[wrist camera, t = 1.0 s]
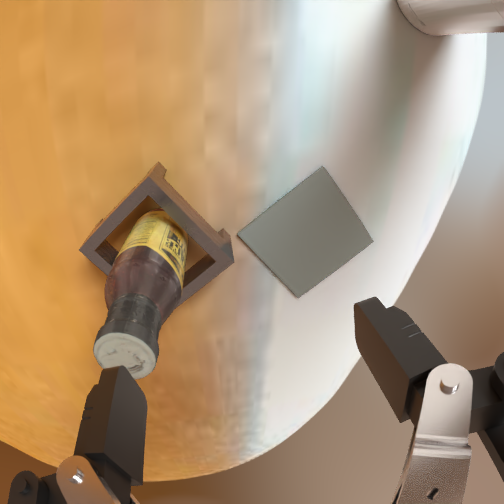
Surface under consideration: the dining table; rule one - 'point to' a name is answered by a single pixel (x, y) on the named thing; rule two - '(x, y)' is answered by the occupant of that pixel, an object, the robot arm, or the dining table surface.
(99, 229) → the grey square frame stand
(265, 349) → the dining table surface
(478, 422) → the robot arm
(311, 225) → the slate mat
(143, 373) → the sauce bottle
